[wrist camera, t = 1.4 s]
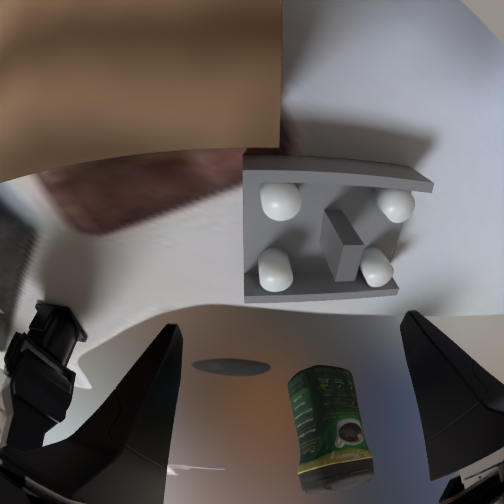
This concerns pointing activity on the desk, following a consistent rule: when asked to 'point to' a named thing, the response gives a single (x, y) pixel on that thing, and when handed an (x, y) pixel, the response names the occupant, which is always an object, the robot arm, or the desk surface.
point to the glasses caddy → (323, 226)
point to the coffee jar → (329, 430)
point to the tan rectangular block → (135, 79)
